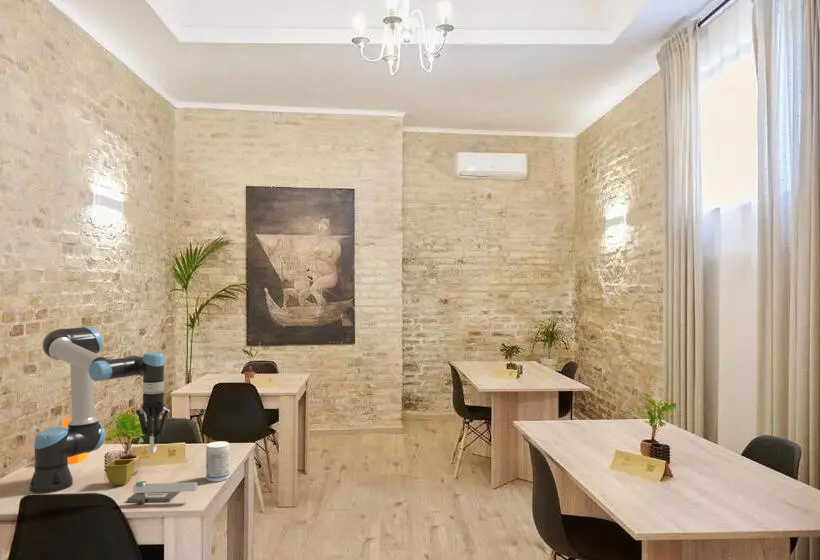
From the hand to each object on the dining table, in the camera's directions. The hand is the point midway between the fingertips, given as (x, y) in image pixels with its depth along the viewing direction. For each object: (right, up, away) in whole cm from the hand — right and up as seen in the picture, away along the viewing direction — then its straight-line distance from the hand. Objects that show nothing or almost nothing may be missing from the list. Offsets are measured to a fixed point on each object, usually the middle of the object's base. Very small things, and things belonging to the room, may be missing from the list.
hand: (153, 452), depth 231 cm
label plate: (+1, -17, -1) cm, 17 cm away
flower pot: (-20, -18, +14) cm, 30 cm away
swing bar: (+8, -12, -8) cm, 17 cm away
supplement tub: (+19, -17, +19) cm, 32 cm away
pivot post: (-1, -17, -9) cm, 19 cm away
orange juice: (-59, -18, +48) cm, 78 cm away
